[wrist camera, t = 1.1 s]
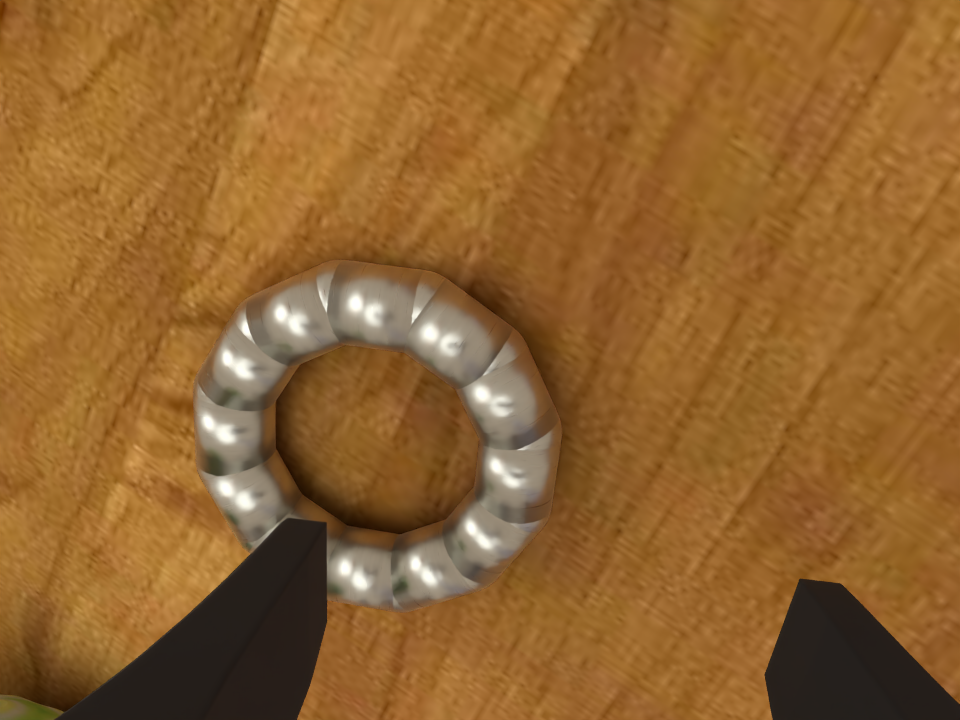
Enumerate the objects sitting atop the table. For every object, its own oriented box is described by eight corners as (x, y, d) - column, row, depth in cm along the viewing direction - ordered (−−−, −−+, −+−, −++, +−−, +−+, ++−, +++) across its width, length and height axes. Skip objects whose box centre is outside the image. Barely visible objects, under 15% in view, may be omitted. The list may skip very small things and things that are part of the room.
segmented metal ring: (537, 604, 26) (531, 652, 23) (220, 550, 27) (186, 591, 25) (584, 281, 22) (582, 302, 20) (212, 234, 23) (171, 249, 21)
